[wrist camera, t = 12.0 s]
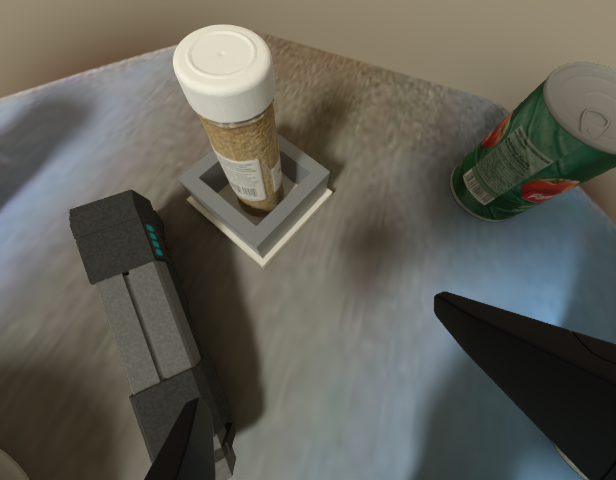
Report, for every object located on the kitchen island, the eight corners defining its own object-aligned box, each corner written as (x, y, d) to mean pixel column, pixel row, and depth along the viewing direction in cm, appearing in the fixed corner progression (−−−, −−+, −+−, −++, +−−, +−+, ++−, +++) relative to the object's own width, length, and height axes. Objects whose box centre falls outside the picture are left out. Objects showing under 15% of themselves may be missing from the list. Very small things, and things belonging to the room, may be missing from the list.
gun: (170, 203, 24) (106, 176, 14) (248, 384, 25) (240, 475, 15) (122, 220, 23) (19, 203, 13) (205, 406, 24) (167, 517, 14)
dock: (331, 196, 25) (338, 171, 21) (264, 268, 22) (256, 256, 18) (260, 143, 27) (254, 109, 23) (190, 204, 24) (168, 178, 20)
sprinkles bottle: (294, 195, 24) (292, 52, 11) (261, 227, 23) (218, 107, 10) (260, 168, 25) (223, 6, 12) (227, 198, 24) (146, 51, 11)
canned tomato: (469, 146, 28) (570, 44, 18) (532, 185, 27) (680, 100, 17) (436, 192, 26) (529, 106, 16) (502, 237, 25) (652, 175, 14)
